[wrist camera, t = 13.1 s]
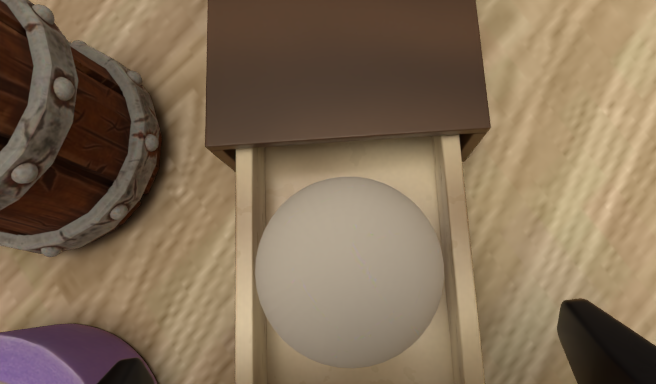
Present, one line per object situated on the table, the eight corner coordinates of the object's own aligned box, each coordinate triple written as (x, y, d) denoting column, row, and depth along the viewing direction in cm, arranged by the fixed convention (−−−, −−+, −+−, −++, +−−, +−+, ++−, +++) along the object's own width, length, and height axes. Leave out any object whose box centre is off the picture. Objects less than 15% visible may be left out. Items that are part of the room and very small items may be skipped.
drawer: (495, 545, 19) (523, 605, 16) (245, 543, 20) (219, 599, 16) (450, 101, 23) (464, 68, 20) (245, 115, 24) (224, 87, 21)
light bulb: (350, 187, 22) (334, 110, 12) (444, 268, 21) (512, 256, 11) (268, 277, 21) (183, 274, 12) (361, 366, 20) (353, 445, 10)
